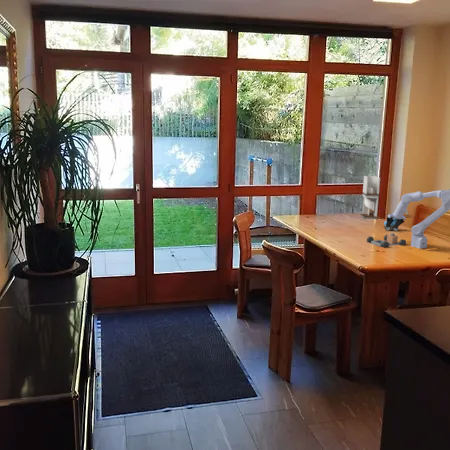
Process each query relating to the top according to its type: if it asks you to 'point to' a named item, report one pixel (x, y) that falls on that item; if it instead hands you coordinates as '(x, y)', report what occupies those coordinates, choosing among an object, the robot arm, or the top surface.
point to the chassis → (384, 242)
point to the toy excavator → (393, 223)
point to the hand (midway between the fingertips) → (391, 227)
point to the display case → (370, 197)
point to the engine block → (392, 238)
